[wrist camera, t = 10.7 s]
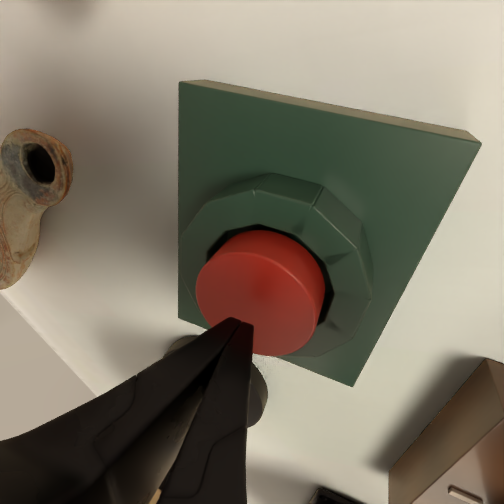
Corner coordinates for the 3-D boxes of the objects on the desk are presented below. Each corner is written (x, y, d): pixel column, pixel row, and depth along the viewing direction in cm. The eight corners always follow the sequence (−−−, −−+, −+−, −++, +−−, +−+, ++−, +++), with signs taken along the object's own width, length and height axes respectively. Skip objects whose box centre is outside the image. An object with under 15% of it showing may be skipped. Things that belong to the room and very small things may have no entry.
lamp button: (309, 339, 13) (299, 373, 11) (212, 303, 14) (192, 330, 12) (340, 251, 10) (333, 280, 9) (220, 214, 11) (196, 235, 10)
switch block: (355, 357, 17) (348, 425, 14) (195, 297, 19) (156, 343, 16) (469, 131, 10) (505, 159, 7) (204, 79, 13) (142, 83, 10)
